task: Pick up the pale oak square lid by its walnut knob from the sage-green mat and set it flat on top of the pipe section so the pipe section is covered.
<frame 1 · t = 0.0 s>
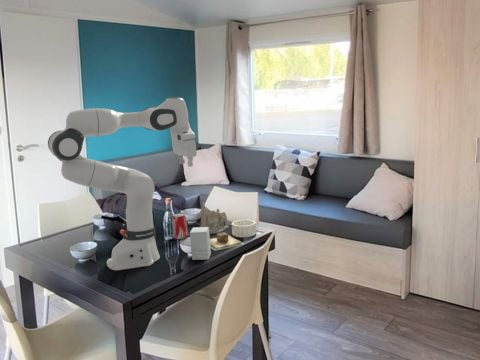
hand: (186, 165, 208), 39 cm above the table, fingers open, 8 cm apart
supplement box: (201, 257, 204), on the table
pipe section: (244, 234, 232), on the table
ceramic cottage: (214, 230, 243), on the table
mat: (222, 243, 220), on the table
soda can: (180, 238, 232), on the table
lid: (222, 242, 220), resting on mat
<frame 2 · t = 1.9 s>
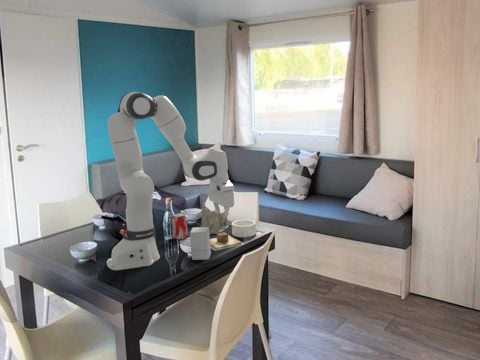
hand: (221, 213, 217), 15 cm above the table, fingers open, 8 cm apart
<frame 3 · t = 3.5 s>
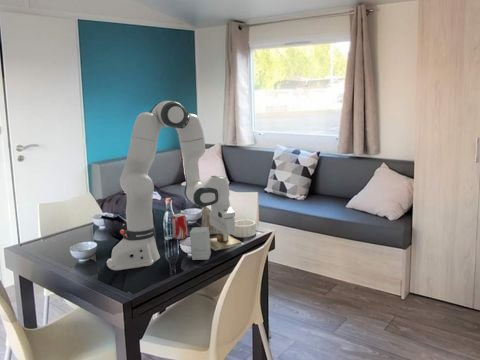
hand: (222, 238, 220), 2 cm above the table, fingers closed on lid, 4 cm apart
lid: (222, 242, 220), resting on mat, touching gripper
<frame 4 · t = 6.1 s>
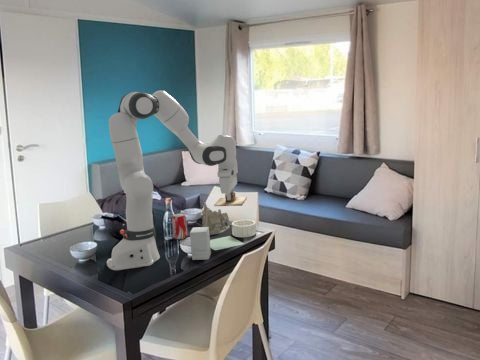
hand: (230, 198, 221), 20 cm above the table, fingers closed on lid, 4 cm apart
lid: (230, 202, 222), point 18 cm above the table, touching gripper
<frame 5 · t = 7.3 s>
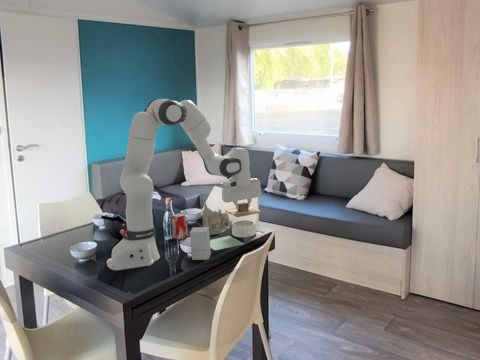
hand: (242, 208, 229), 13 cm above the table, fingers closed on lid, 4 cm apart
lid: (243, 212, 229), point 11 cm above the table, touching gripper
when the fingers open (9 cm above the table, at t = 8.5 s): lid drops 1 cm, resting on pipe section.
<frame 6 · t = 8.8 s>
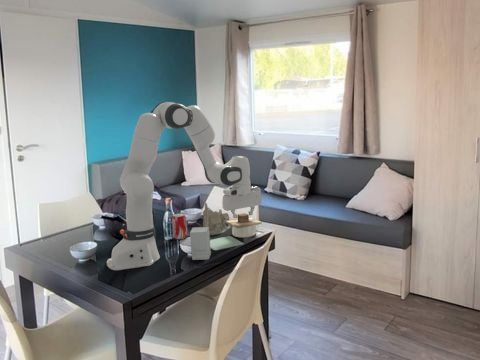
hand: (243, 216, 230), 9 cm above the table, fingers open, 7 cm apart
lid: (243, 223, 231), point 6 cm above the table, touching pipe section
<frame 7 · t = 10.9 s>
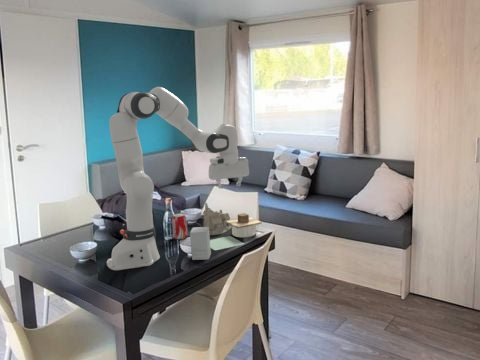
hand: (229, 187, 225), 25 cm above the table, fingers open, 8 cm apart
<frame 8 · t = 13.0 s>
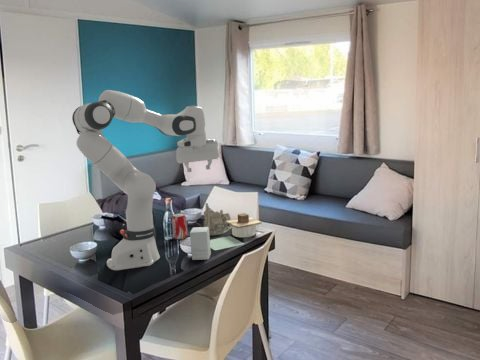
hand: (198, 170, 220), 34 cm above the table, fingers open, 8 cm apart
at the end: lid 0.1 cm off-centre on the pipe section, point 6.0 cm above the pipe section's base; lid tilted 0°; the gripper is holding nothing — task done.
